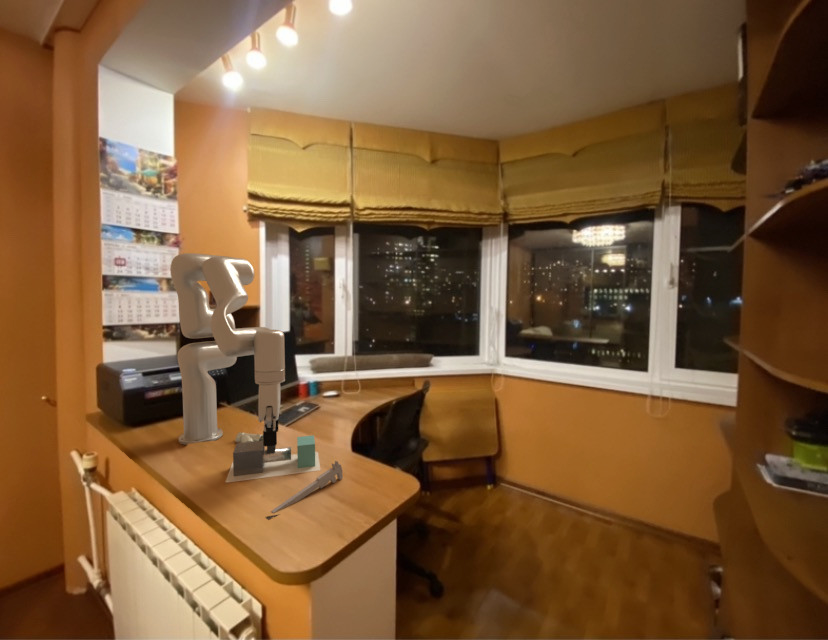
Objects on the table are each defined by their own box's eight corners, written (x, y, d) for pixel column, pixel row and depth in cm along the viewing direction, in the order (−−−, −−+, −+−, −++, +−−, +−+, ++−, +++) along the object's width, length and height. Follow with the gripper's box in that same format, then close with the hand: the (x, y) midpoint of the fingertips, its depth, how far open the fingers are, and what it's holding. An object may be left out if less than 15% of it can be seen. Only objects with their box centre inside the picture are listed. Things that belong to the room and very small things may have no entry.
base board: (233, 465, 104) (232, 461, 104) (317, 454, 111) (317, 451, 111) (225, 486, 92) (225, 482, 92) (320, 473, 99) (320, 470, 99)
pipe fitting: (251, 454, 112) (265, 443, 119) (250, 442, 112) (264, 432, 118) (228, 451, 114) (243, 441, 120) (227, 439, 113) (242, 430, 120)
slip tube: (236, 463, 100) (235, 430, 99) (291, 456, 104) (290, 425, 103) (234, 468, 97) (233, 434, 96) (291, 462, 101) (290, 429, 100)
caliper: (339, 482, 96) (339, 458, 95) (342, 483, 95) (342, 459, 94) (265, 519, 80) (265, 491, 79) (268, 521, 79) (268, 493, 78)
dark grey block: (237, 465, 101) (236, 443, 101) (264, 462, 103) (264, 440, 103) (233, 476, 95) (232, 453, 95) (262, 472, 97) (262, 449, 97)
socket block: (297, 458, 106) (297, 437, 106) (314, 456, 108) (313, 435, 107) (297, 468, 100) (297, 445, 100) (315, 466, 101) (315, 443, 101)
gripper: (258, 370, 106) (259, 428, 108) (251, 384, 90) (252, 453, 91) (285, 368, 109) (286, 426, 110) (284, 382, 92) (285, 449, 93)
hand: (271, 438), depth 100 cm, fingers open, 9 cm apart
